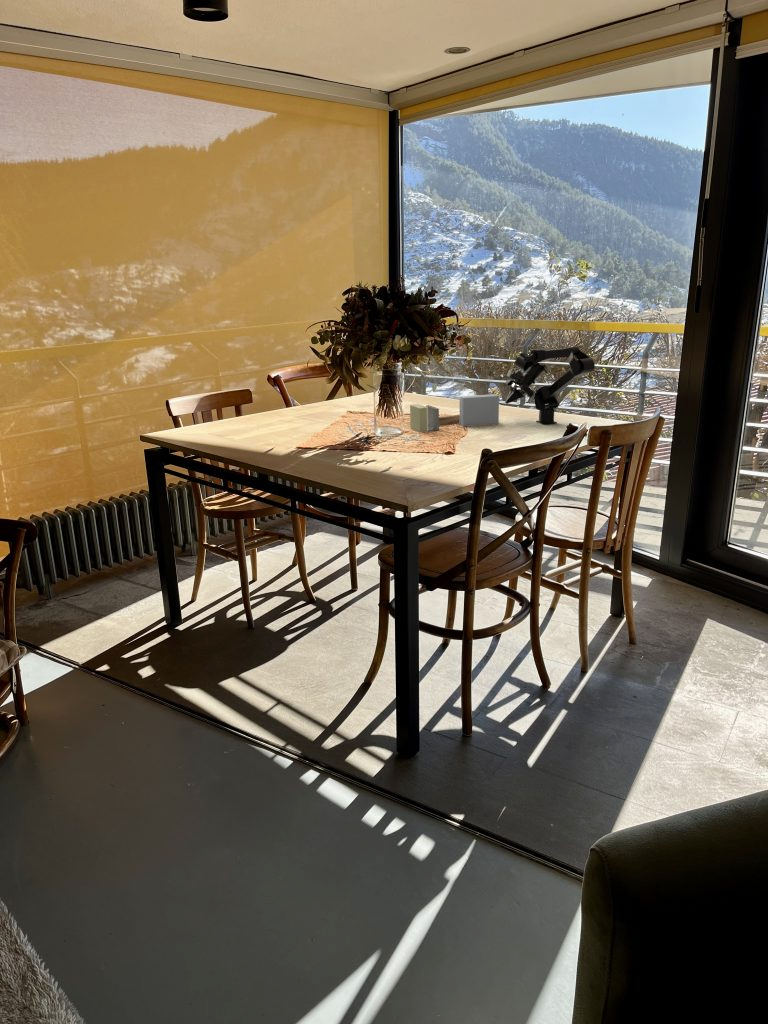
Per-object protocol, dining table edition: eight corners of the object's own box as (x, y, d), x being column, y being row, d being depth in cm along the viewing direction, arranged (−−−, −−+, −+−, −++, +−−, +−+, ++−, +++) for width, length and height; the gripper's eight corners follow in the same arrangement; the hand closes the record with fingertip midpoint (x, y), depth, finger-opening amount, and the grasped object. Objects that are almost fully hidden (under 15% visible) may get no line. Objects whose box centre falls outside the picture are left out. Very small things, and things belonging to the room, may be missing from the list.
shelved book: (428, 431, 319) (427, 407, 316) (419, 432, 318) (419, 407, 315) (418, 427, 327) (417, 403, 324) (410, 428, 326) (409, 404, 323)
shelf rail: (491, 418, 340) (491, 412, 339) (430, 426, 329) (430, 419, 328) (489, 417, 342) (489, 411, 341) (428, 425, 331) (428, 418, 330)
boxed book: (494, 421, 335) (495, 393, 331) (498, 423, 331) (499, 395, 327) (459, 424, 332) (459, 396, 328) (462, 426, 327) (463, 398, 323)
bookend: (438, 430, 321) (438, 408, 318) (424, 431, 319) (424, 410, 316) (429, 426, 329) (429, 405, 326) (415, 427, 327) (415, 406, 324)
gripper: (510, 360, 336) (485, 387, 337) (527, 365, 318) (501, 393, 319) (526, 377, 340) (502, 404, 341) (544, 383, 322) (519, 411, 323)
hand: (505, 403), depth 331 cm, fingers closed
